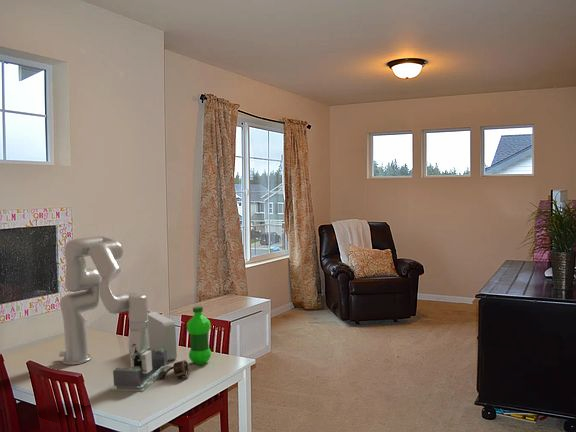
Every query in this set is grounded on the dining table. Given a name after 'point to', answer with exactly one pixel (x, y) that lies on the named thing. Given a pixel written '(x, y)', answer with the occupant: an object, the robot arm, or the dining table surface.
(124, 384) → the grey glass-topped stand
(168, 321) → the rounded white slab
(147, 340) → the robot arm
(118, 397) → the dining table surface
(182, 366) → the brown antique clock
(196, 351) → the plastic bottle
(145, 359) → the block
